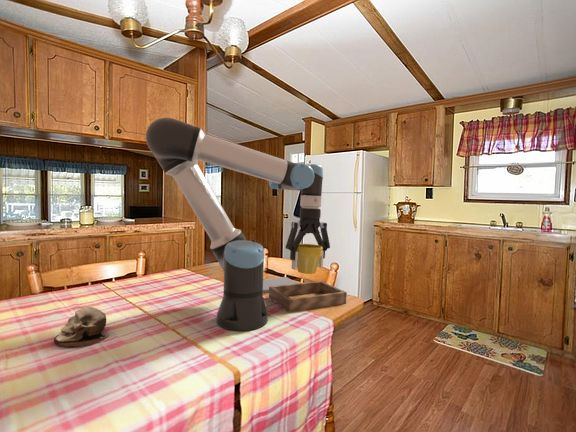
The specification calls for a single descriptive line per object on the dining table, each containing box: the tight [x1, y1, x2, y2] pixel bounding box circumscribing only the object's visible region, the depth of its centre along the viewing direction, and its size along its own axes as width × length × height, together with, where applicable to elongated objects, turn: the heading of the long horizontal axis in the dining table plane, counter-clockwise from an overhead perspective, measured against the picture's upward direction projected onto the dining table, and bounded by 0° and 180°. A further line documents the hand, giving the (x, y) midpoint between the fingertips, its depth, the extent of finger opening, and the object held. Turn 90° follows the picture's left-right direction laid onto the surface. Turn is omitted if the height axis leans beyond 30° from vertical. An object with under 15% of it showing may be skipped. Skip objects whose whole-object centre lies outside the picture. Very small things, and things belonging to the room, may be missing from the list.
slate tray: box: [263, 276, 298, 294], centre depth 132 cm, size 18×15×1 cm
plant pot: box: [296, 243, 323, 275], centre depth 114 cm, size 10×10×10 cm
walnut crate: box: [268, 280, 348, 313], centre depth 114 cm, size 23×16×4 cm
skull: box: [53, 306, 109, 348], centre depth 80 cm, size 12×10×10 cm
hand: (307, 268), depth 114 cm, fingers closed on plant pot, 10 cm apart
